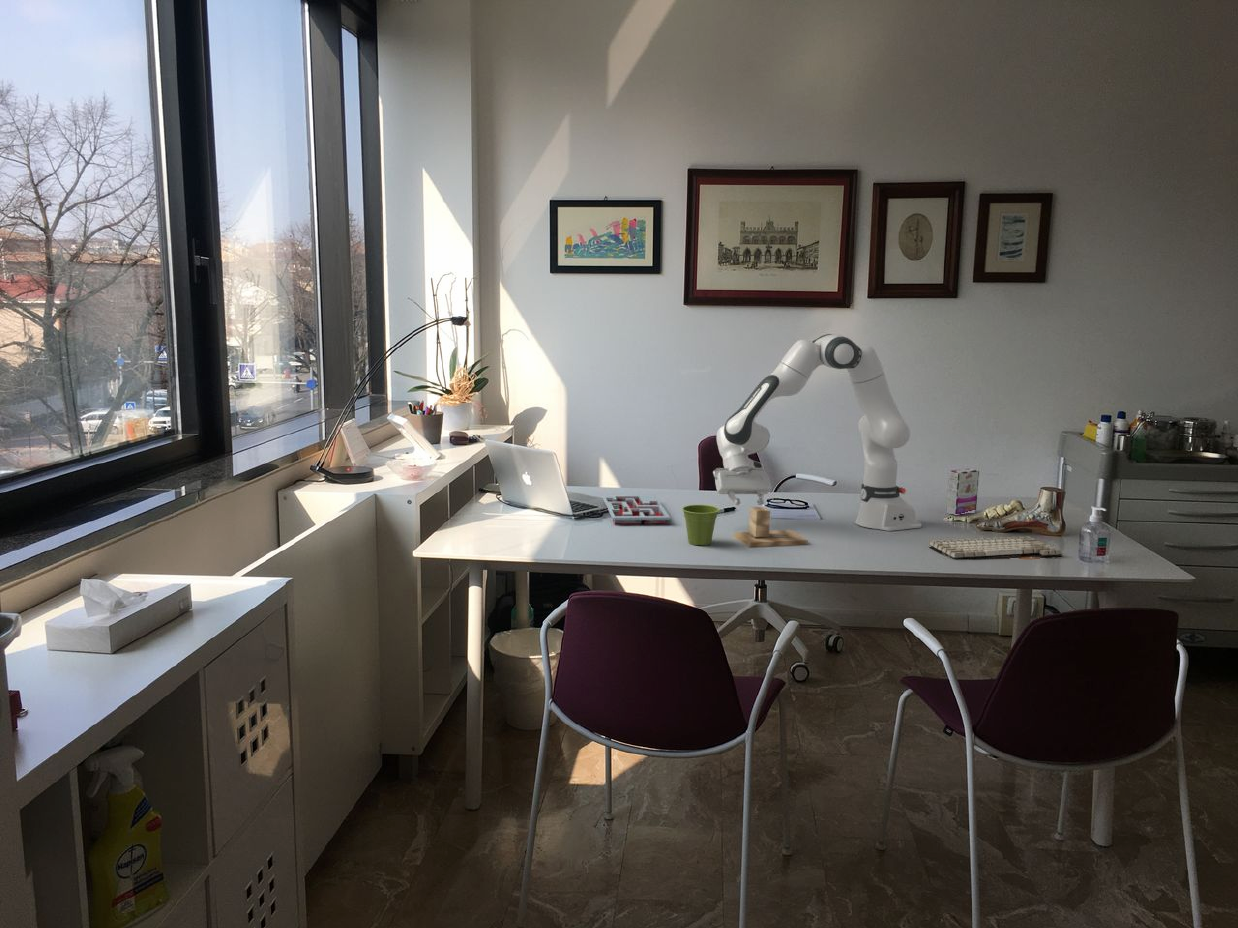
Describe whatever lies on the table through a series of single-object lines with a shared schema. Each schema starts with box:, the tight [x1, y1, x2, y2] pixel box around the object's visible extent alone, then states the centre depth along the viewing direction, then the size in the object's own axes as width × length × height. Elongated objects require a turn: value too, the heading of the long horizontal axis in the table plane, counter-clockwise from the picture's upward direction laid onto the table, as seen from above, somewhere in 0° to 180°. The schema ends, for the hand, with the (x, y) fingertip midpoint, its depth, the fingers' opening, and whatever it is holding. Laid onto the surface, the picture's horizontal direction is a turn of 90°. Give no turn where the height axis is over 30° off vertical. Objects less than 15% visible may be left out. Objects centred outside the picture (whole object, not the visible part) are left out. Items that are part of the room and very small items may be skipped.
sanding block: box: [748, 506, 771, 538], centre depth 311 cm, size 5×5×9 cm
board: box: [733, 529, 809, 548], centre depth 313 cm, size 20×13×2 cm, turn 105°
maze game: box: [602, 494, 671, 526], centre depth 345 cm, size 35×20×3 cm, turn 7°
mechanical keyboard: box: [928, 536, 1064, 561], centre depth 307 cm, size 38×19×3 cm, turn 104°
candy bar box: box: [945, 467, 980, 514], centre depth 358 cm, size 11×5×16 cm, turn 120°
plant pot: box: [681, 504, 720, 546], centre depth 307 cm, size 12×12×11 cm
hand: (749, 504), depth 322 cm, fingers open, 8 cm apart
